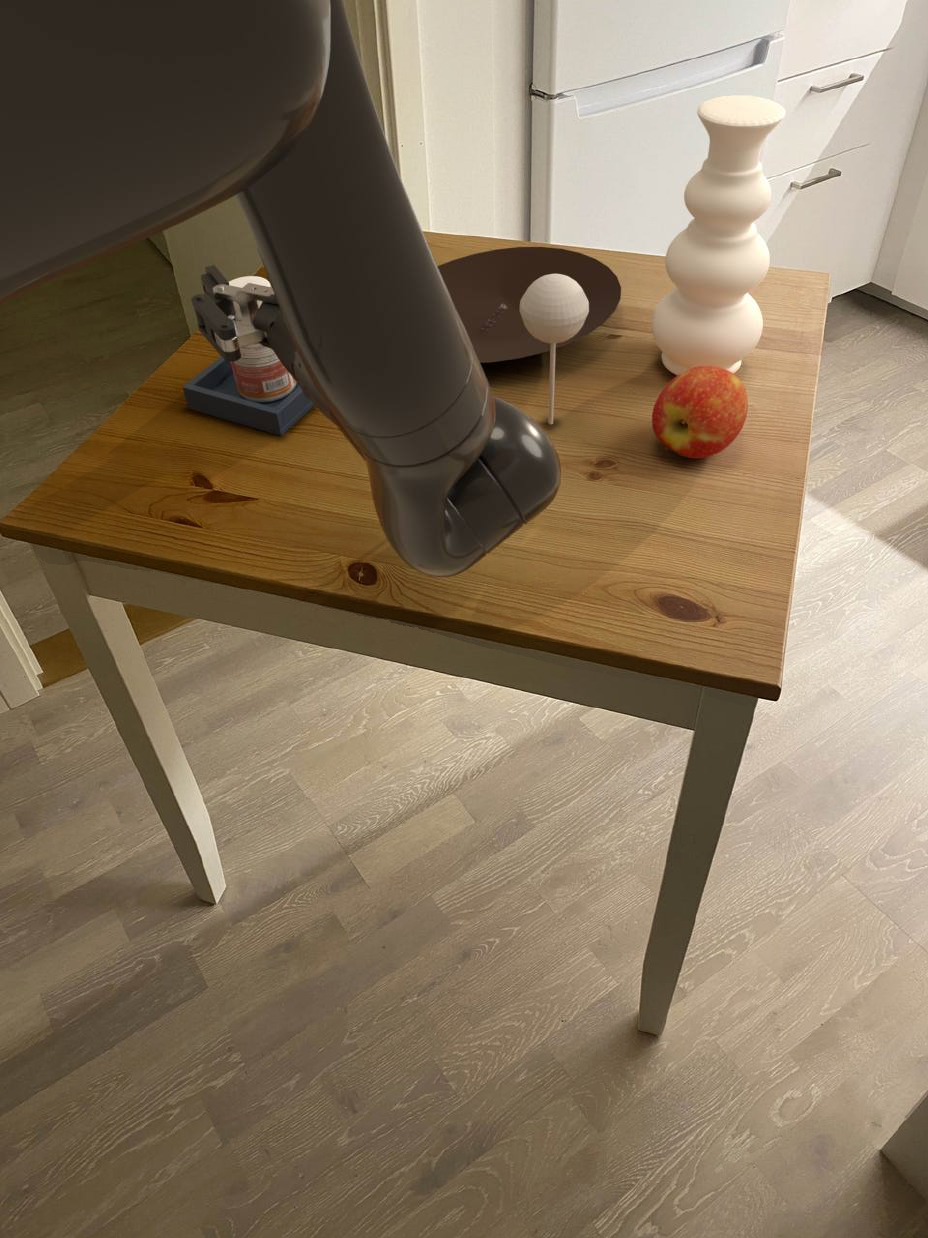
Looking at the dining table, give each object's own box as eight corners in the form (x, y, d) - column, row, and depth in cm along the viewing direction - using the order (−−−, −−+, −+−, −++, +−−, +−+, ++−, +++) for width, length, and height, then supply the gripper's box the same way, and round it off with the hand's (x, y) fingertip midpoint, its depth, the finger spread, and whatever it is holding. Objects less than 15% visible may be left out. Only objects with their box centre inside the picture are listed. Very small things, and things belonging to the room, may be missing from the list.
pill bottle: (255, 368, 100) (233, 268, 92) (307, 376, 99) (289, 275, 91) (227, 399, 96) (200, 298, 88) (280, 408, 95) (259, 306, 87)
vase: (757, 343, 101) (810, 87, 83) (749, 399, 94) (806, 132, 76) (655, 332, 103) (684, 81, 85) (640, 386, 96) (669, 124, 78)
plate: (438, 247, 120) (436, 218, 117) (650, 284, 111) (654, 254, 108) (324, 356, 103) (319, 325, 100) (565, 410, 94) (567, 378, 91)
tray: (281, 436, 93) (276, 413, 91) (188, 409, 97) (182, 386, 95) (344, 377, 100) (341, 355, 98) (255, 354, 103) (250, 332, 102)
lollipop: (510, 433, 91) (509, 287, 80) (530, 401, 95) (532, 257, 84) (572, 445, 90) (579, 298, 79) (589, 412, 93) (599, 266, 82)
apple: (634, 451, 89) (643, 377, 83) (683, 411, 93) (695, 338, 87) (708, 485, 85) (722, 409, 79) (756, 441, 89) (773, 367, 83)
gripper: (440, 278, 63) (342, 194, 73) (236, 336, 58) (161, 238, 68) (445, 377, 68) (353, 286, 78) (259, 437, 64) (187, 332, 74)
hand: (264, 263), depth 73 cm, fingers open, 8 cm apart
